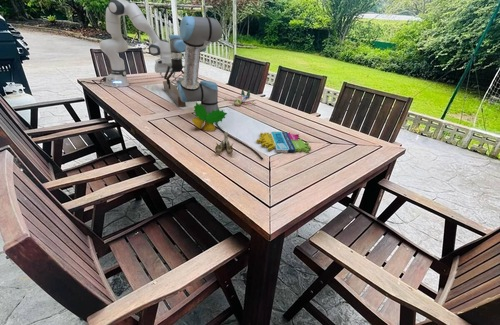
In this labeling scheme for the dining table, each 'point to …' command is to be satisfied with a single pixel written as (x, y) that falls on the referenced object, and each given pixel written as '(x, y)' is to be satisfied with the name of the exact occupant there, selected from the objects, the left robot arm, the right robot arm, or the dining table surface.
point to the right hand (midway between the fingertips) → (178, 88)
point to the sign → (283, 142)
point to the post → (173, 94)
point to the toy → (241, 99)
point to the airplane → (179, 80)
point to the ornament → (207, 117)
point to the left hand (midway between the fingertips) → (168, 77)
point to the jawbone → (224, 145)
